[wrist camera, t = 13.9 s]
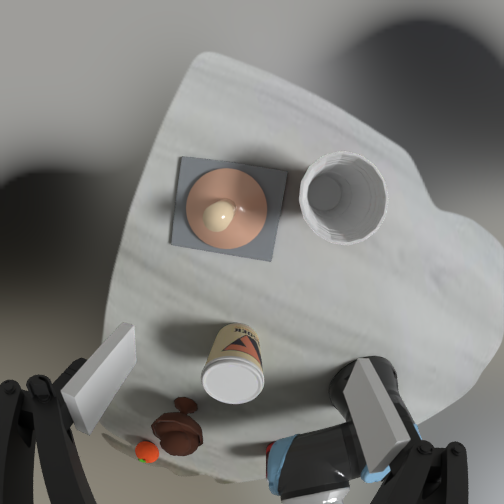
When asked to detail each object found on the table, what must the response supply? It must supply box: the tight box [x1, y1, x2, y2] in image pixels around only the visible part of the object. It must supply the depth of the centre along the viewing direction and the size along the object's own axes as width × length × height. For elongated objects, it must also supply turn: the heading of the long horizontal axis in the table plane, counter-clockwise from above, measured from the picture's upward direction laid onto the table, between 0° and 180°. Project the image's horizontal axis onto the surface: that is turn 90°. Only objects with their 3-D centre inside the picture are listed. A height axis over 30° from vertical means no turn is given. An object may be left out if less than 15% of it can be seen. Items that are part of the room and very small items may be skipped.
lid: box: [186, 168, 267, 249], centre depth 36 cm, size 12×12×10 cm
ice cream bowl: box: [151, 397, 203, 456], centre depth 46 cm, size 11×11×15 cm
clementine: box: [135, 441, 159, 463], centre depth 56 cm, size 8×7×7 cm
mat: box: [171, 156, 288, 262], centre depth 41 cm, size 16×14×1 cm
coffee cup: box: [201, 323, 264, 404], centre depth 42 cm, size 9×9×12 cm
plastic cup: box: [299, 151, 389, 245], centre depth 34 cm, size 11×11×12 cm
